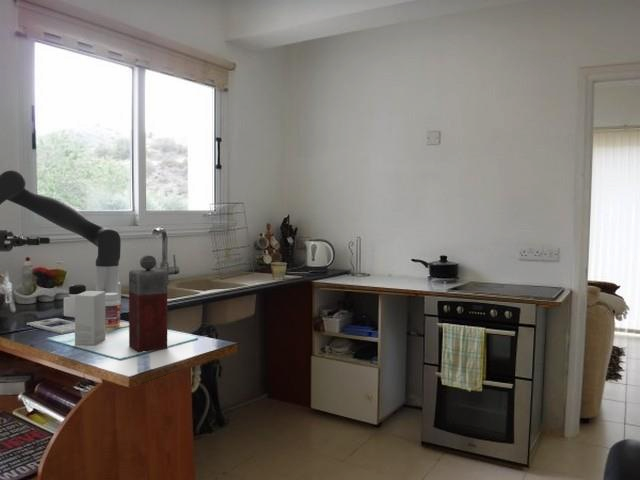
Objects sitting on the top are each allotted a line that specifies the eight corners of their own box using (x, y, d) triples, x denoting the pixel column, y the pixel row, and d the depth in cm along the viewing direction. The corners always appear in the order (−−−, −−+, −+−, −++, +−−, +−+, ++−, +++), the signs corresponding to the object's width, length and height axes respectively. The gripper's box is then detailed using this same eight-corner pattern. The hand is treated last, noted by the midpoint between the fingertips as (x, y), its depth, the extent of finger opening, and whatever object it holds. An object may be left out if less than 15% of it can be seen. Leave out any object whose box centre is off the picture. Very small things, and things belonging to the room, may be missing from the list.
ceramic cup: (282, 280, 316) (282, 264, 315) (267, 279, 319) (267, 263, 319) (291, 278, 328) (291, 262, 327) (276, 277, 331) (277, 261, 331)
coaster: (114, 322, 192) (114, 321, 192) (132, 325, 186) (132, 324, 186) (90, 327, 183) (89, 325, 183) (107, 331, 178) (107, 329, 178)
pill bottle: (121, 326, 184) (121, 294, 183) (103, 328, 180) (103, 295, 180) (118, 322, 189) (117, 291, 188) (99, 324, 186) (99, 293, 185)
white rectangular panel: (56, 320, 194) (56, 317, 194) (92, 328, 182) (92, 325, 182) (26, 325, 185) (26, 322, 185) (61, 333, 173) (61, 331, 172)
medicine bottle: (91, 314, 205) (91, 284, 204) (76, 318, 198) (76, 286, 197) (78, 313, 208) (78, 283, 207) (63, 316, 201) (62, 285, 200)
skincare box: (86, 338, 167) (86, 290, 166) (107, 339, 167) (106, 290, 166) (73, 345, 159) (73, 294, 158) (95, 345, 159) (94, 295, 158)
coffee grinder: (155, 340, 166) (155, 253, 165) (167, 348, 157) (167, 255, 155) (126, 344, 161) (126, 254, 159) (137, 352, 152) (137, 257, 150)
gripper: (-16, 230, 174) (36, 231, 176) (5, 229, 188) (52, 229, 190) (-15, 253, 174) (36, 253, 176) (5, 250, 188) (52, 250, 190)
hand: (44, 241), depth 183 cm, fingers open, 8 cm apart
